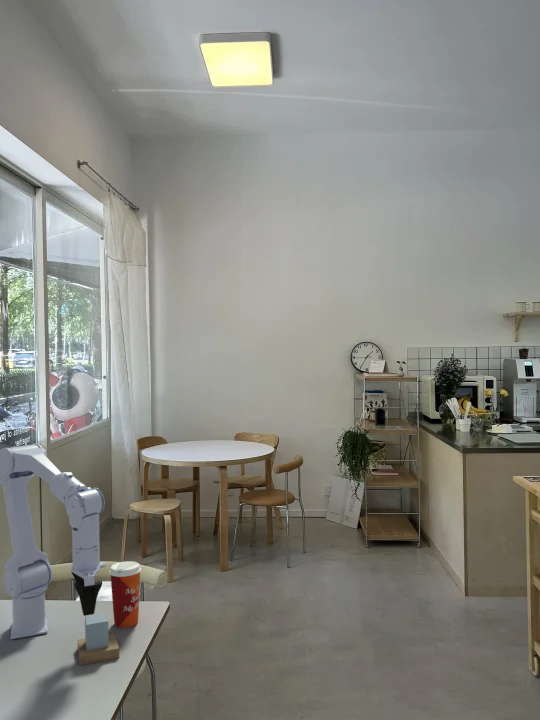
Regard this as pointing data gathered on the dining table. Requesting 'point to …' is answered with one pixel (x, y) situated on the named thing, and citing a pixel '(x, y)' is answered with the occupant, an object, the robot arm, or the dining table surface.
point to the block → (96, 631)
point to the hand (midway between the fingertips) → (86, 607)
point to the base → (98, 651)
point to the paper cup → (125, 593)
